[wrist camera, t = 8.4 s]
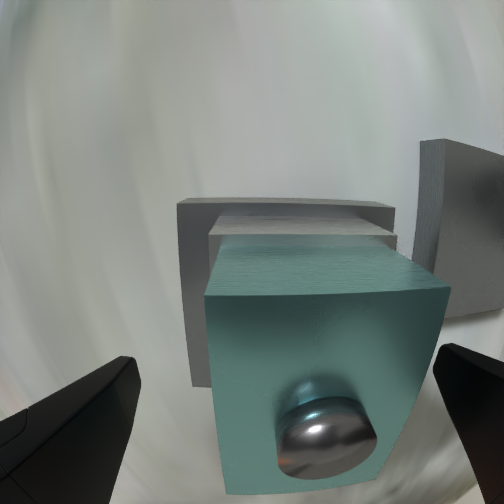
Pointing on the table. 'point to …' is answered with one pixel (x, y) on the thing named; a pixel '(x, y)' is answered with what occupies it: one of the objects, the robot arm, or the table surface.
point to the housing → (313, 348)
